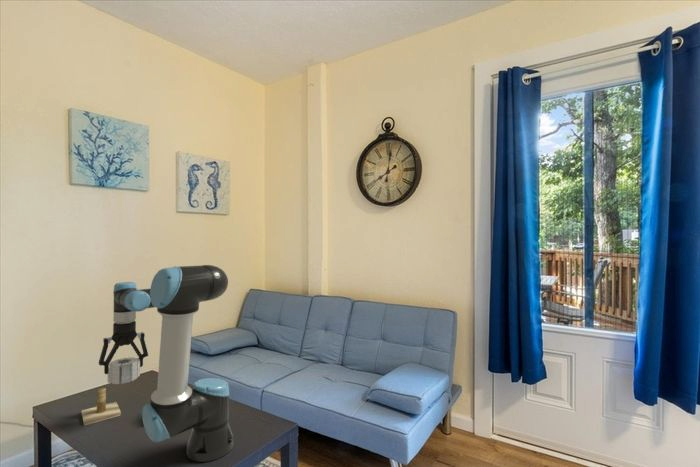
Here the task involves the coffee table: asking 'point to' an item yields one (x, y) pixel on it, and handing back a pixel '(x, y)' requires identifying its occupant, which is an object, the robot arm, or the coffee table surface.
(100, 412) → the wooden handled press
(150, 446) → the coffee table surface
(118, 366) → the studded hollow tube
